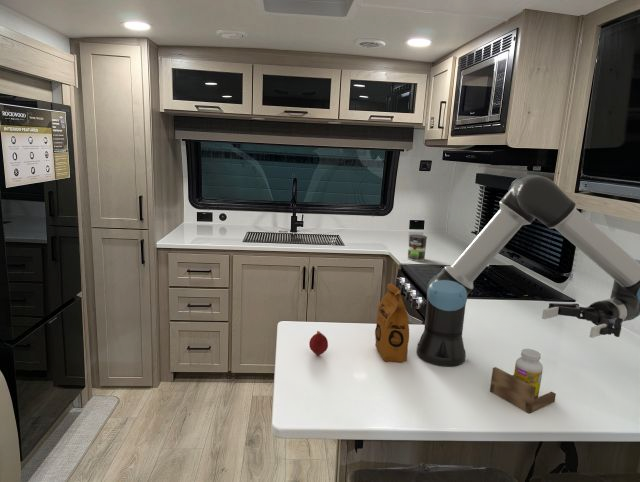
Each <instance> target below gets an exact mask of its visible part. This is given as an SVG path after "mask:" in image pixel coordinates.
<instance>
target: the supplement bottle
mask: <svg viewBox="0 0 640 482" xmlns="http://www.w3.org/2000/svg"><path fill="white" fill-rule="evenodd" d="M541 357H542V355H541V353H540V352H539V351H537V350H535V349H531V348H522V350H521V353H520V357H518V358H517V359H516V360H515V366H514V373H513V375H514V377H516V378H518V379H520V380H522V381H524V382H526V383H528V384H530V385H532V386H534V387H536V390H535V396H534V399H535V398H538V397H539V394H540V388H541V383H542V375H543V372H544V371H543V370H544V367H543V366H544V365H543V364H542V363H541V362H540V360H541V359H542V358H541Z"/></svg>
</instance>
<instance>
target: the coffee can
mask: <svg viewBox="0 0 640 482" xmlns="http://www.w3.org/2000/svg"><path fill="white" fill-rule="evenodd" d="M408 237H409V239H408V249H407V250H408V251H407V259H408V260H410V261H414V262H423V261H425V256H426V249H427V238H428V236H426V235H422V234H410V235H409V236H408Z"/></svg>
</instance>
